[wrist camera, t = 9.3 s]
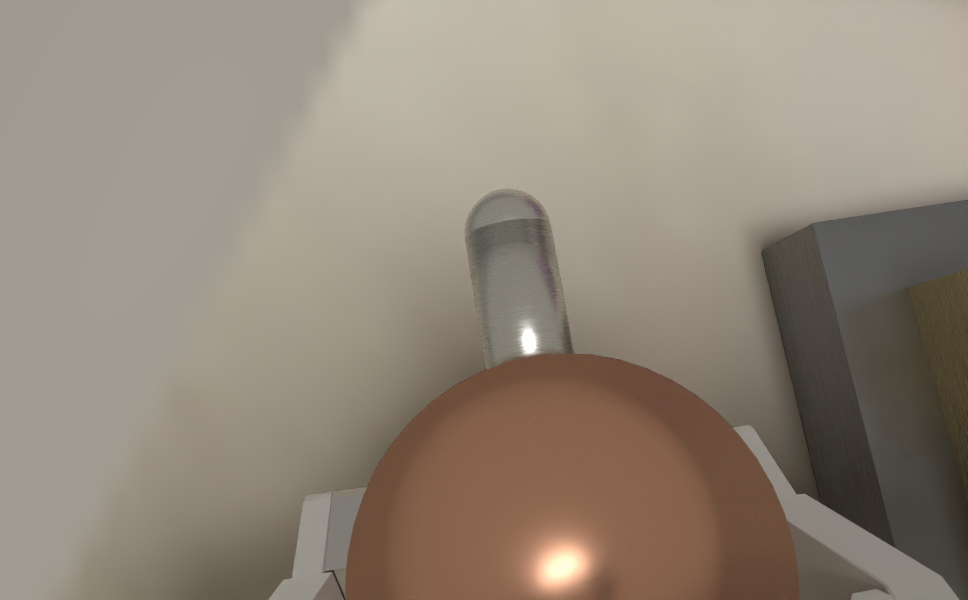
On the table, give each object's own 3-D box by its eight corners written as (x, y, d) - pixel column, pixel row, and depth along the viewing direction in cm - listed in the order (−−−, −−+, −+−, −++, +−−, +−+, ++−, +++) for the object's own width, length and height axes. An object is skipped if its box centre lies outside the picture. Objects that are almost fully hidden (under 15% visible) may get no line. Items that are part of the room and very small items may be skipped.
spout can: (439, 589, 17) (374, 879, 7) (403, 321, 19) (300, 200, 8) (622, 558, 18) (850, 792, 7) (574, 295, 19) (701, 141, 8)
